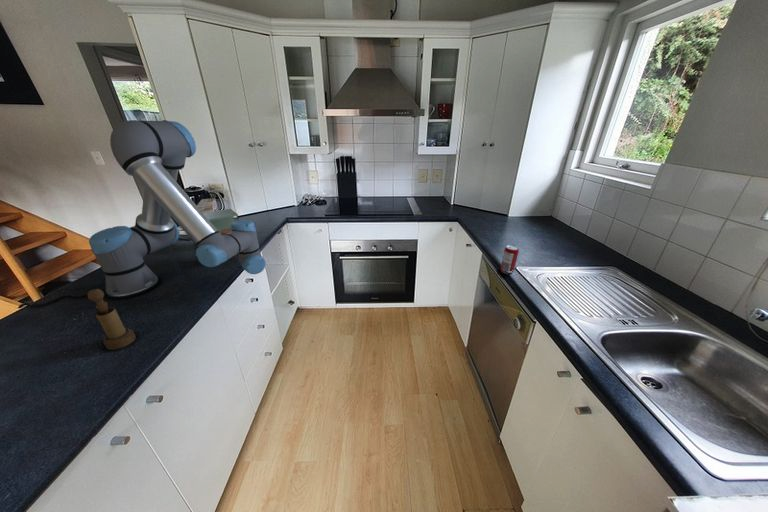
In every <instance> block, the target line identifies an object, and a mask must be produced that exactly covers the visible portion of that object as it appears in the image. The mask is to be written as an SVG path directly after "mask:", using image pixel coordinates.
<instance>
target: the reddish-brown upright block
mask: <svg viewBox="0 0 768 512" xmlns="http://www.w3.org/2000/svg"><path fill="white" fill-rule="evenodd" d="M231 231H232V230H231V228H228V229H224V230H221V231H220V232H221V235H222V236H223V235H225V234H227V233H229V232H231Z"/></svg>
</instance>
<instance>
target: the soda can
mask: <svg viewBox="0 0 768 512" xmlns="http://www.w3.org/2000/svg"><path fill="white" fill-rule="evenodd" d="M503 250H504V251H503V255H502V258H501V264H500V269H499V270H500V271H501V273H502V274H505V275H509V274H508V272H505V271H512V270H514V271H515V268H516V264H517V260H518V257H519V254H520V253H519V252H520V249H519V247H518V246H517V245H515V244H514V245H513V244H507V245H506V246H505V248H504V249H503Z"/></svg>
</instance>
